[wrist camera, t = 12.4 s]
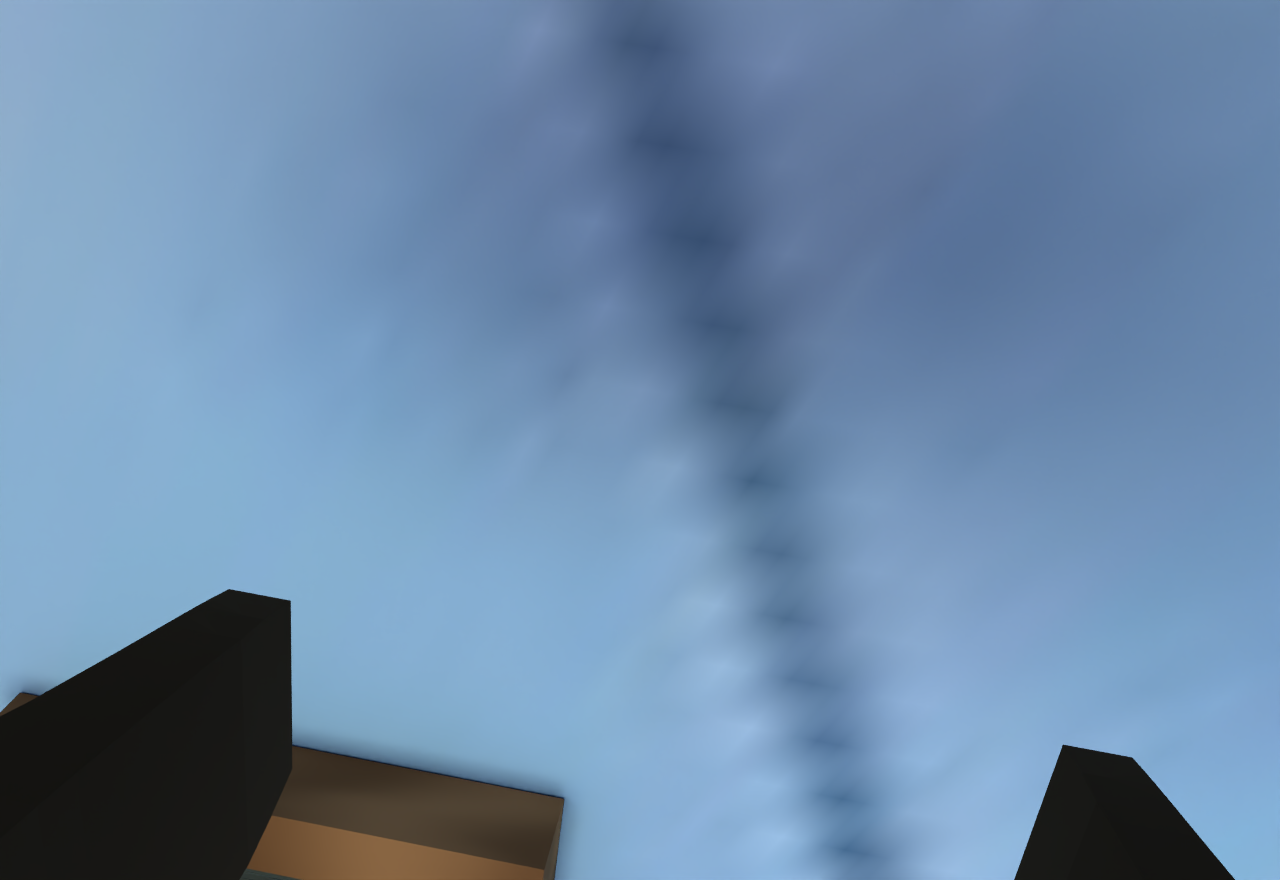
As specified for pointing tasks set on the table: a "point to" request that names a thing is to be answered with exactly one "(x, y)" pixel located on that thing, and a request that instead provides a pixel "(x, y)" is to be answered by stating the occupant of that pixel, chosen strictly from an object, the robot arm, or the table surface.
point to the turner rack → (400, 824)
